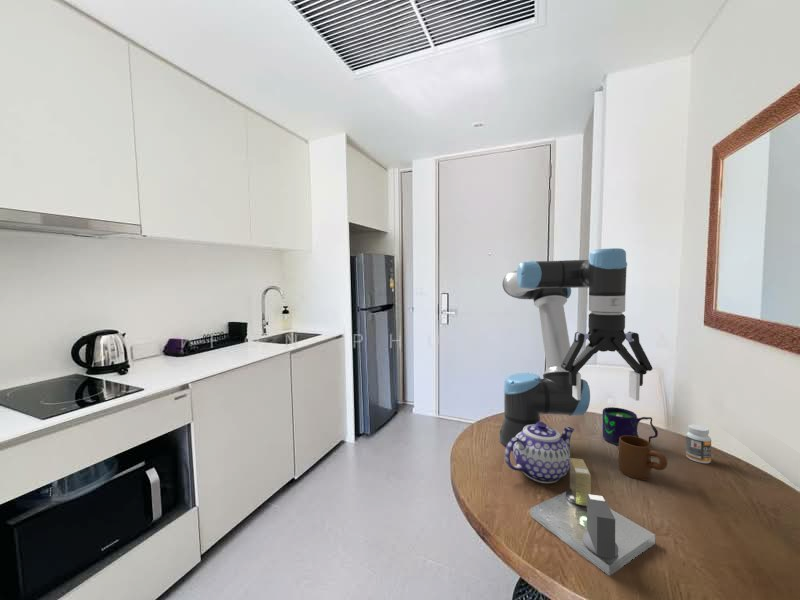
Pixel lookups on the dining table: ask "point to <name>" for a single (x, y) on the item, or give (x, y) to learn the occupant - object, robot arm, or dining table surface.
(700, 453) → the pill bottle
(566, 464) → the teapot
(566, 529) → the plate
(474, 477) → the dining table surface
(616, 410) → the mug
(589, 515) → the dark grey block
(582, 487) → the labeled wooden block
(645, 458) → the mug
